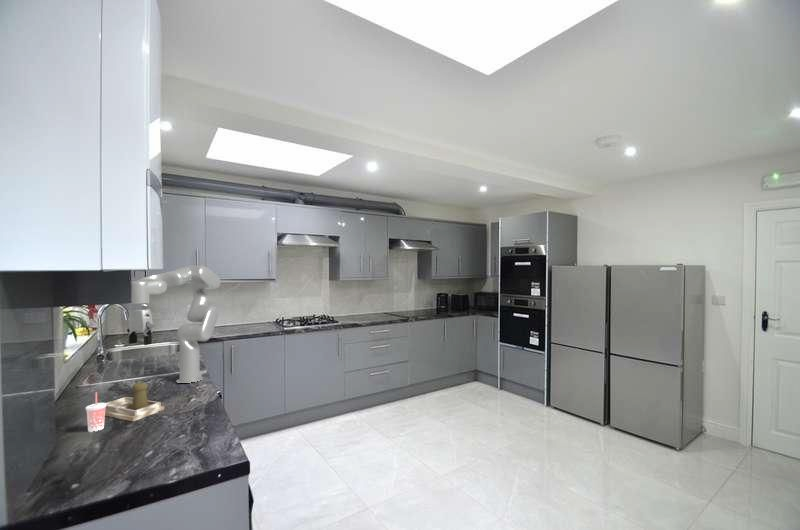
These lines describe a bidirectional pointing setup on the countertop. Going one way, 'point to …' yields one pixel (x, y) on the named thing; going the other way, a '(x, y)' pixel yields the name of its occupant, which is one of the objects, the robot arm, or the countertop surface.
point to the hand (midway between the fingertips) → (140, 343)
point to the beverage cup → (96, 416)
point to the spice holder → (123, 409)
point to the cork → (139, 396)
